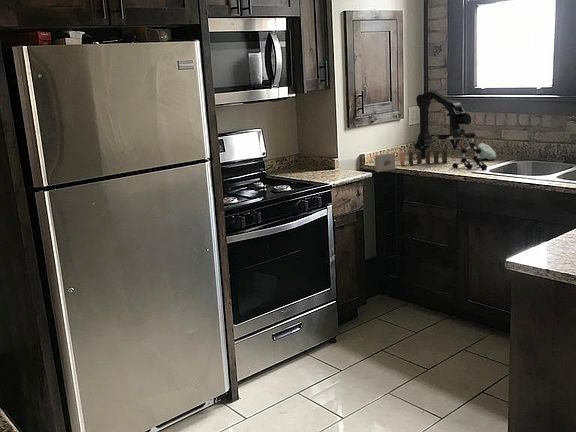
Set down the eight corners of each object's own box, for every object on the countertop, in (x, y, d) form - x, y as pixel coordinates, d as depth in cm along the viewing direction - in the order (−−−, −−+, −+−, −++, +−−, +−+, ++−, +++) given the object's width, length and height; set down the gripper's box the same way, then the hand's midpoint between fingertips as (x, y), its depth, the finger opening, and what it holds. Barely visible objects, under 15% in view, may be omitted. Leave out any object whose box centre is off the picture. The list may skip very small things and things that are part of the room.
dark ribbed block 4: (418, 165, 373) (418, 151, 372) (417, 163, 378) (416, 150, 376) (421, 164, 373) (421, 151, 371) (420, 163, 378) (419, 150, 376)
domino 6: (443, 163, 373) (443, 150, 371) (442, 162, 378) (441, 148, 376) (446, 163, 373) (446, 149, 371) (445, 161, 378) (444, 148, 376)
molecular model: (485, 170, 344) (486, 134, 339) (451, 169, 356) (451, 133, 351) (496, 165, 357) (497, 130, 352) (463, 163, 369) (463, 129, 364)
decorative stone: (469, 158, 382) (472, 147, 374) (482, 150, 386) (485, 138, 378) (486, 170, 375) (488, 159, 367) (498, 162, 379) (501, 150, 371)
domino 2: (410, 165, 374) (409, 152, 372) (408, 164, 378) (408, 150, 377) (413, 165, 374) (412, 151, 372) (411, 163, 378) (411, 150, 376)
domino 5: (435, 163, 373) (435, 150, 371) (433, 162, 378) (433, 149, 376) (438, 163, 373) (438, 150, 371) (436, 162, 378) (436, 149, 376)
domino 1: (401, 166, 374) (401, 152, 372) (400, 164, 379) (400, 151, 377) (404, 165, 374) (404, 152, 372) (403, 164, 379) (403, 151, 377)
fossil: (378, 172, 359) (377, 155, 357) (374, 171, 362) (374, 155, 360) (395, 169, 364) (395, 153, 362) (392, 168, 367) (391, 152, 365)
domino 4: (427, 164, 373) (426, 151, 371) (425, 163, 378) (425, 149, 376) (430, 164, 373) (430, 150, 371) (428, 162, 378) (428, 149, 376)
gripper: (441, 126, 362) (441, 153, 366) (474, 124, 362) (473, 151, 366) (437, 124, 373) (437, 150, 377) (468, 122, 373) (468, 148, 376)
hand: (454, 150), depth 374 cm, fingers closed
